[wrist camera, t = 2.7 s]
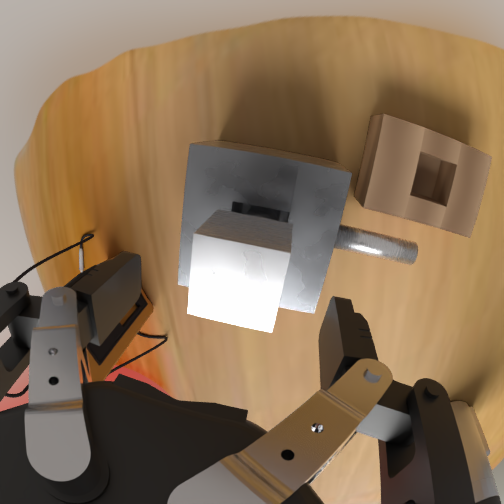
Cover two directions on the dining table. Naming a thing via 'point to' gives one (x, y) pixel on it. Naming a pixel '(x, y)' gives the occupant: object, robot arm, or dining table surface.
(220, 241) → the grey square peg
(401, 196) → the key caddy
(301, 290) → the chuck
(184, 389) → the dining table surface
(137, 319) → the multimeter
